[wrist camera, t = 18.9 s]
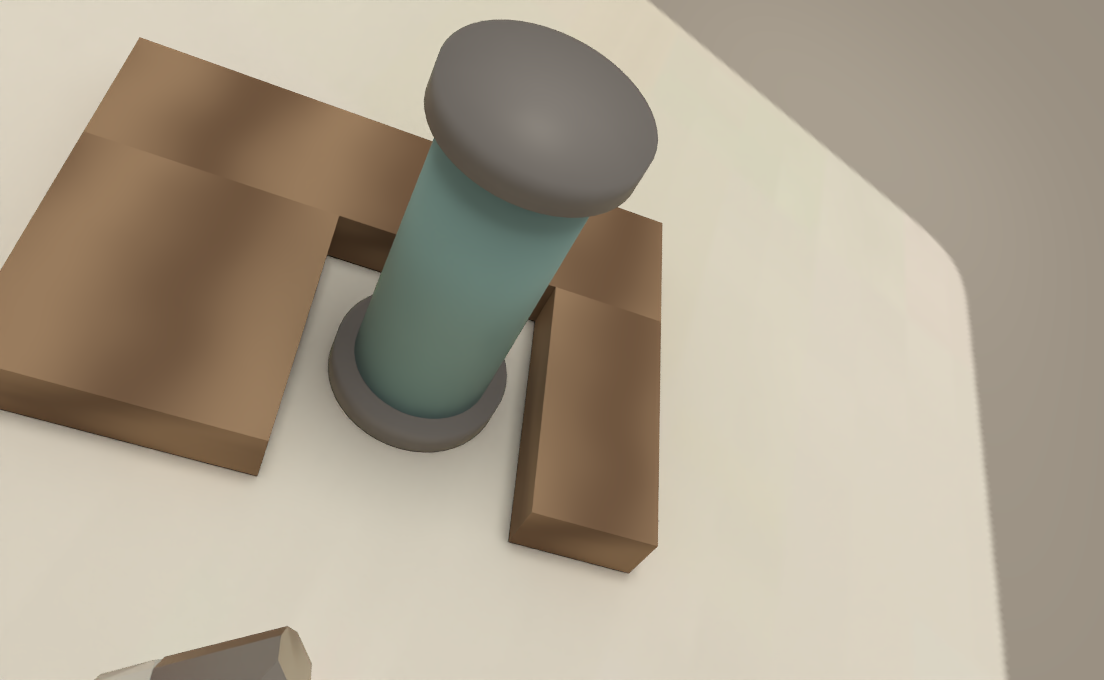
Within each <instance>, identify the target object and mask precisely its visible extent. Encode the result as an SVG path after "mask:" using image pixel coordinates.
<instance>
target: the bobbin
mask: <svg viewBox="0 0 1104 680" xmlns="http://www.w3.org/2000/svg"><path fill="white" fill-rule="evenodd" d="M424 110H425V114H426V119H427V122H428V125H429V128H430V130H431V133H432V135H433V136H434V139H433V142H432V145H431V147H430V150H429V152H428V155H427V157H426V160H425V162H424V165H423V168H422V170H421V173H420V175H419V178H418V180H417V183H416V185H415V188H414V191H413V193H412V196H411V198H410V201H409V203H408V206H407V208H406V211H405V214H404V216H403V219H402V221H401V224H400V226H399V229H398V232H397V234H396V237H395V239H394V242H393V244H392V247H391V249H390V252H389V255H388V257H387V260H386V262H385V265H384V267H383V270H382V272H381V275H380V278H379V280H378V283H377V285H376V288H375V290H374V293H373V295H371V296H369V297H367V298H365V299H364V300H362V301H360V302H359V303H357V304H356V305H355V306H354V307H353V308H352V309H351V310H350V311H349V312H348V313H347V314H346V316H345V317H344V319H343V321H342V322H341V324H340V326H339V329H338V332H337V334H336V337H335V340H334V343H333V345H332V348H331V351H330V356H329V363H328V372H329V380H330V383H331V387H332V390H333V392H334V395H335V397H336V399H337V401H338V403H339V404H340V406H341V408H342V409H343V410H344V412H345V413H346V414H347V415H348V417H349V418H350V419H351V420H352V421H353V422H354V423H355V424H356V425H357V426H358V427H360V428H361V429H362V430H364V431H365V432H366V433H368V434H369V435H371V436H373V437H374V438H376V439H377V440H380V441H382V442H384V443H386V444H388V445H391V446H394V447H397V448H400V449H405V450H409V451H417V452H437V451H444V450H448V449H451V448H455V447H457V446H460V445H462V444H464V443H466V442H468V441H469V440H471V439H472V438H474V437H475V436H476V435H477V434H478V433H480V432H481V430H482V429H483V428H484V427H485V426H486V424H487V423H488V421H489V420H490V418H491V416H492V415H493V413H494V412H495V410H496V408H497V407H498V405H499V404H500V402H501V400H502V397H503V395H504V392H505V387H506V379H507V373H506V364H505V360H504V359H505V357H506V355H507V354H508V352H509V350H510V349H511V347H512V345H513V344H514V342H515V340H516V339H517V337H518V335H519V334H520V332H521V330H522V329H523V327H524V325H525V323H526V322H527V320H528V318H529V317H530V315H531V313H532V312H533V310H534V308H535V307H536V305H537V303H538V302H539V300H540V298H541V297H542V295H543V293H544V292H545V290H546V288H547V287H548V285H549V283H550V282H551V280H552V278H553V277H554V275H555V273H556V272H557V270H558V268H559V267H560V265H561V263H562V262H563V260H564V258H565V257H566V255H567V253H568V252H569V250H570V248H571V247H572V245H573V243H574V242H575V240H576V238H577V237H578V235H579V233H580V232H581V230H582V228H583V227H584V225H585V223H586V222H587V220H588V218H589V217H590V216H596V215H599V214H603V213H606V212H608V211H611V210H613V209H615V208H617V207H618V206H619V205H621V204H622V203H624V202H625V201H626V200H627V199H628V198H629V197H630V195H631V194H632V193H633V191H634V189H635V188H636V186H637V185H638V183H639V181H640V180H641V178H642V177H643V175H644V173H645V172H646V170H647V169H648V167H649V165H650V164H651V162H652V161H653V159H654V156H655V153H656V150H657V144H658V134H657V127H656V123H655V119H654V117H653V114H652V111H651V109H650V107H649V105H648V103H647V102H646V100H645V98H644V97H643V95H642V94H641V92H640V91H639V89H638V88H637V87H636V86H635V85H634V83H633V82H632V81H631V80H630V79H629V78H628V77H627V76H626V75H625V74H624V73H623V72H622V71H621V70H620V69H619V68H618V67H617V66H616V65H615V64H613V63H612V62H611V61H610V60H608V59H607V58H606V57H604V56H603V55H602V54H600V53H599V52H597V51H596V50H594V49H593V48H591V47H589V46H588V45H586V44H584V43H582V42H581V41H579V40H577V39H575V38H573V37H571V36H568V35H566V34H564V33H562V32H559V31H556V30H554V29H551V28H548V27H545V26H541V25H537V24H534V23H528V22H523V21H515V20H488V21H481V22H477V23H473V24H470V25H467V26H465V27H463V28H461V29H459V30H458V31H456V32H454V33H453V34H452V35H451V36H450V37H449V38H448V39H447V40H446V41H445V43H444V44H443V46H442V47H441V49H440V52H439V54H438V57H437V60H436V62H435V65H434V68H433V71H432V73H431V76H430V79H429V82H428V84H427V87H426V91H425V97H424Z"/></svg>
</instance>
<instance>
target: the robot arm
mask: <svg viewBox="0 0 1104 680" xmlns="http://www.w3.org/2000/svg"><path fill="white" fill-rule="evenodd" d="M311 668H312V663H311V661H310V658H309V656H308V654H307V652H306V650H305V648H304V645H303V643H302V641H301V639H300V637H299V635H298V632H296V631H295V630H293V629H291V628H290V627H288V626H286V627H282V628H278V629H274V630H270V631H266V632H262V633H258V634H254V635H250V636H246V637H242V638H238V639H234V640H230V641H226V642H222V643H218V644H214V645H210V646H206V647H202V648H198V649H194V650H190V651H186V652H182V653H178V654H174V655H170V656H166V657H164V658H163V659H162V660H152V661H149V662H145V663H141V664H137V665H134V666H130V667H126V668H122V669H119V670H115V671H111V672H107V673H103V674H100V675H99V676H98V677H97V678H96V679H94V680H311Z"/></svg>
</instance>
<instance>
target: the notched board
mask: <svg viewBox="0 0 1104 680" xmlns="http://www.w3.org/2000/svg"><path fill="white" fill-rule="evenodd" d="M432 142H433V141H430V140H427V139H424V138H421V137H418V136H416V135H413V134H410V133H407V132H404V131H402V130H399V129H396V128H393V127H390V126H388V125H385V124H382V123H379V122H376V121H374V120H371V119H368V118H365V117H362V116H359V115H357V114H354V113H351V112H348V111H345V110H343V109H340V108H337V107H334V106H331V105H329V104H326V103H323V102H320V101H317V100H315V99H312V98H309V97H306V96H303V95H300V94H298V93H295V92H292V91H289V90H286V89H284V88H281V87H278V86H275V85H272V84H270V83H267V82H264V81H261V80H258V79H256V78H253V77H250V76H247V75H244V74H241V73H239V72H236V71H233V70H230V69H227V68H225V67H222V66H219V65H216V64H213V63H211V62H208V61H205V60H202V59H199V58H197V57H194V56H191V55H188V54H185V53H182V52H180V51H177V50H174V49H171V48H168V47H166V46H163V45H160V44H157V43H154V42H152V41H149V40H146V39H143V38H139V40H138V41H137V43H136V45H135V46H134V48H133V50H132V51H131V53H130V55H129V56H128V58H127V60H126V61H125V63H124V65H123V66H122V68H121V70H120V71H119V73H118V75H117V76H116V78H115V80H114V81H113V83H112V85H111V86H110V88H109V90H108V91H107V93H106V95H105V96H104V98H103V100H102V101H101V103H100V105H99V106H98V108H97V110H96V111H95V113H94V115H93V117H92V118H91V120H90V122H89V123H88V125H87V127H86V128H85V130H84V132H83V133H82V135H81V137H80V138H79V140H78V142H77V143H76V145H75V147H74V148H73V150H72V152H71V153H70V155H69V157H68V158H67V160H66V162H65V163H64V165H63V167H62V168H61V170H60V172H59V173H58V175H57V177H56V178H55V180H54V182H53V183H52V185H51V187H50V188H49V190H48V192H47V193H46V195H45V197H44V198H43V200H42V202H41V203H40V205H39V207H38V208H37V210H36V212H35V214H34V215H33V217H32V219H31V220H30V222H29V224H28V225H27V227H26V229H25V230H24V232H23V234H22V235H21V237H20V239H19V240H18V242H17V244H16V245H15V247H14V249H13V250H12V252H11V254H10V255H9V257H8V259H7V260H6V262H5V264H4V265H3V267H2V269H1V270H0V409H3V410H7V411H10V412H14V413H18V414H22V415H26V416H29V417H33V418H37V419H41V420H45V421H49V422H52V423H56V424H60V425H64V426H68V427H72V428H75V429H79V430H83V431H87V432H91V433H95V434H98V435H102V436H106V437H110V438H114V439H118V440H121V441H125V442H129V443H133V444H137V445H140V446H144V447H148V448H152V449H156V450H160V451H163V452H167V453H171V454H175V455H179V456H183V457H186V458H190V459H194V460H198V461H202V462H206V463H209V464H213V465H217V466H221V467H225V468H229V469H232V470H236V471H240V472H244V473H248V474H251V475H255V476H257V475H258V472H259V469H260V466H261V463H262V460H263V457H264V453H265V450H266V447H267V444H268V441H269V438H270V434H271V431H272V428H273V425H274V422H275V419H276V415H277V412H278V409H279V406H280V403H281V399H282V396H283V393H284V390H285V387H286V384H287V380H288V377H289V374H290V371H291V368H292V364H293V361H294V358H295V355H296V352H297V349H298V345H299V342H300V339H301V336H302V333H303V329H304V326H305V323H306V320H307V317H308V314H309V310H310V307H311V304H312V301H313V298H314V294H315V291H316V288H317V285H318V282H319V278H320V275H321V272H322V269H323V266H324V263H325V259H326V256H327V255H330V256H333V257H336V258H339V259H342V260H346V261H349V262H352V263H355V264H358V265H361V266H364V267H367V268H371V269H374V270H377V271H380V272H382V270H383V267H384V265H385V262H386V260H387V257H388V255H389V252H390V249H391V247H392V244H393V242H394V239H395V237H396V234H397V232H398V229H399V226H400V224H401V221H402V219H403V216H404V214H405V211H406V208H407V206H408V203H409V201H410V198H411V196H412V193H413V191H414V188H415V185H416V183H417V180H418V178H419V175H420V173H421V170H422V168H423V165H424V162H425V160H426V157H427V155H428V152H429V150H430V147H431V145H432ZM661 279H662V223H660V222H657V221H655V220H652V219H649V218H646V217H643V216H640V215H638V214H635V213H632V212H629V211H626V210H624V209H621V208H618V207H617V208H615V209H613V210H611V211H608V212H606V213H603V214H599V215H596V216H590V217H589V218H588V220H587V222H586V223H585V225H584V227H583V228H582V230H581V232H580V233H579V235H578V237H577V238H576V240H575V242H574V243H573V245H572V247H571V248H570V250H569V252H568V253H567V255H566V257H565V258H564V260H563V262H562V263H561V265H560V267H559V268H558V270H557V272H556V273H555V275H554V277H553V278H552V280H551V282H550V283H549V285H548V287H547V288H546V290H545V292H544V293H543V295H542V297H541V298H540V300H539V302H538V303H537V305H536V307H535V308H534V310H533V312H532V313H531V315H530V317H529V318H528V319H530V320H533V321H535V326H534V334H533V343H532V351H531V359H530V368H529V376H528V384H527V392H526V401H525V409H524V417H523V426H522V434H521V442H520V450H519V459H518V467H517V475H516V484H515V492H514V500H513V508H512V517H511V525H510V533H509V542H512V543H516V544H519V545H523V546H527V547H531V548H535V549H539V550H542V551H546V552H550V553H554V554H558V555H561V556H565V557H569V558H573V559H577V560H581V561H584V562H588V563H592V564H596V565H600V566H604V567H607V568H611V569H615V570H619V571H623V572H627V573H630V572H631V571H632V570H633V569H634V568H635V567H636V566H637V565H638V564H639V563H640V562H641V561H643V560H644V559H645V558H646V557H647V556H648V555H649V554H650V553H651V552H652V551H653V550H654V549H655V548H656V547H657V546H658V488H659V418H660V349H661Z"/></svg>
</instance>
